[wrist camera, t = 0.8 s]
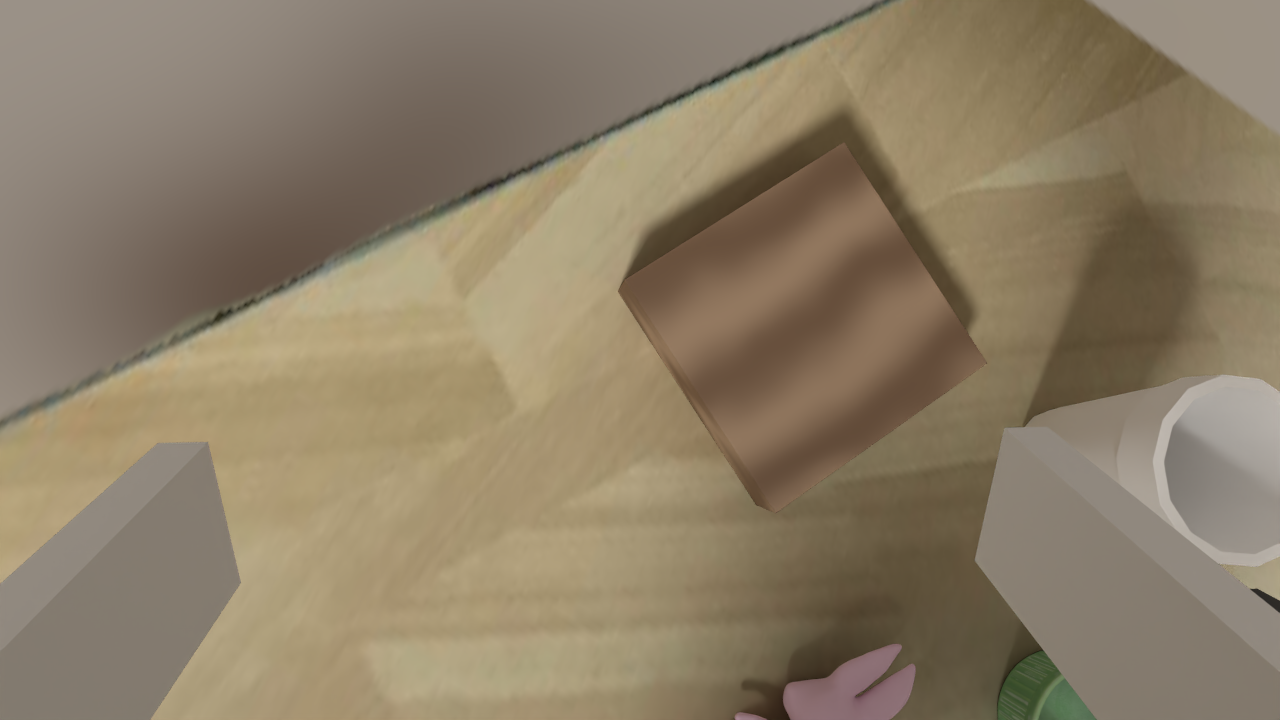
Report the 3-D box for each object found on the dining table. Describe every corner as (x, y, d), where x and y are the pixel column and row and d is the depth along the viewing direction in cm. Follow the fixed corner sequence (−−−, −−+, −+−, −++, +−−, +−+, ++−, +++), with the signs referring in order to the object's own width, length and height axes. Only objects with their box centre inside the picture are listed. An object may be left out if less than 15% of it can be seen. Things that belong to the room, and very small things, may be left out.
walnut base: (951, 367, 49) (987, 363, 45) (756, 505, 46) (775, 513, 42) (819, 164, 49) (844, 142, 45) (617, 291, 46) (624, 279, 42)
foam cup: (1054, 357, 50) (1230, 336, 37) (1148, 453, 50) (1356, 465, 37) (965, 460, 48) (1117, 474, 36) (1063, 557, 49) (1248, 607, 36)
